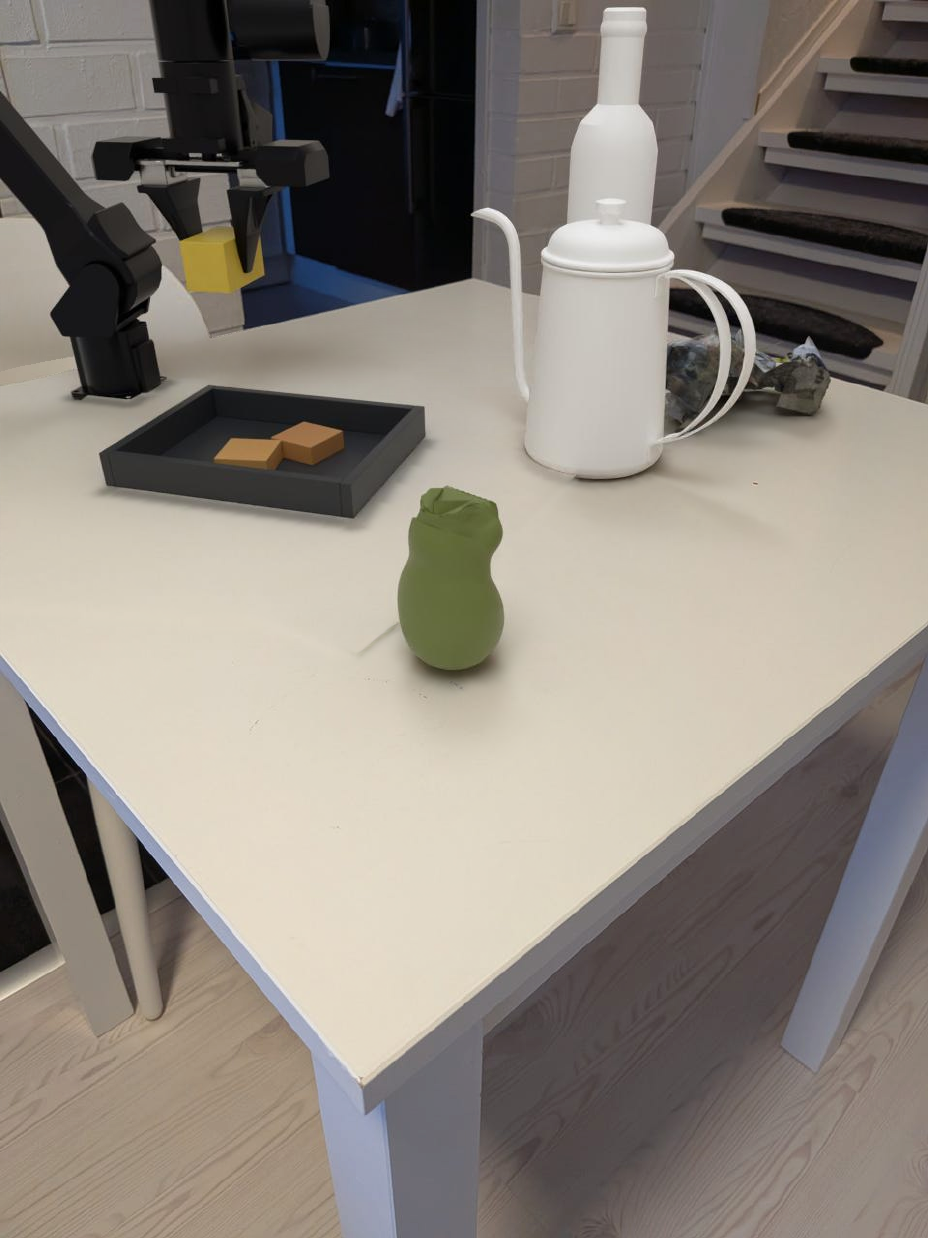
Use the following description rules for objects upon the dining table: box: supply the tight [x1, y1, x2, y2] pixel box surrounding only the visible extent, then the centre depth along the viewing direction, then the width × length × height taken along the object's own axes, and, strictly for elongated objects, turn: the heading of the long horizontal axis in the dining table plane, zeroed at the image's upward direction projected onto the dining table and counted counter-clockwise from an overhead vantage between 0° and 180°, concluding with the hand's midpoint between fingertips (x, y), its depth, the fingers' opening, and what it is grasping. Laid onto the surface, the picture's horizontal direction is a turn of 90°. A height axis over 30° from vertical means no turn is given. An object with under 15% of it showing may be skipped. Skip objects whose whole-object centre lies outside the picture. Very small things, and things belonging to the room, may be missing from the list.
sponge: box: [178, 225, 265, 295], centre depth 79 cm, size 4×7×4 cm, turn 166°
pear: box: [396, 485, 505, 671], centre depth 47 cm, size 6×5×10 cm
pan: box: [98, 384, 426, 519], centre depth 71 cm, size 20×16×3 cm
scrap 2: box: [271, 422, 344, 465], centre depth 72 cm, size 4×4×2 cm
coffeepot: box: [470, 198, 757, 480], centre depth 68 cm, size 11×25×19 cm, turn 47°
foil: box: [664, 326, 832, 433], centre depth 79 cm, size 12×11×15 cm
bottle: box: [566, 6, 659, 226], centre depth 84 cm, size 8×8×30 cm
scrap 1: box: [214, 438, 283, 470], centre depth 69 cm, size 4×4×2 cm
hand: (225, 270), depth 79 cm, fingers closed on sponge, 4 cm apart
